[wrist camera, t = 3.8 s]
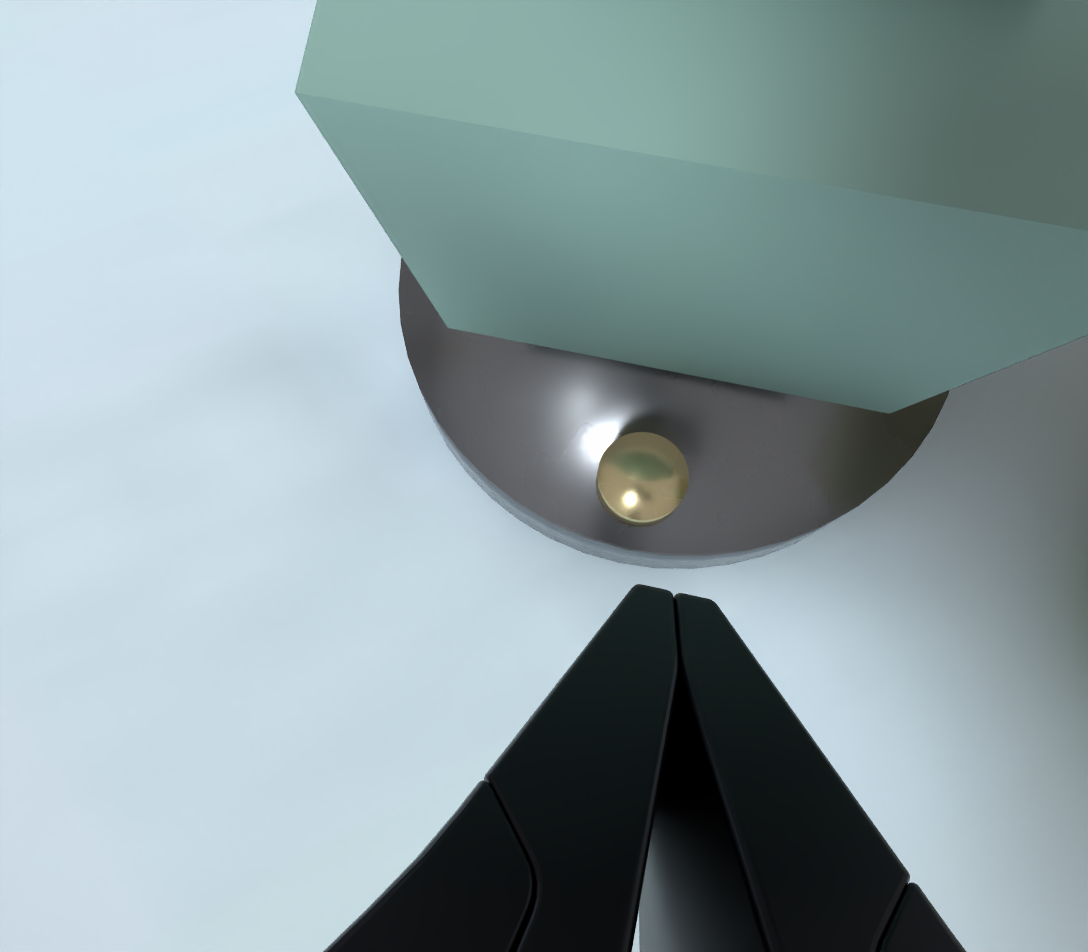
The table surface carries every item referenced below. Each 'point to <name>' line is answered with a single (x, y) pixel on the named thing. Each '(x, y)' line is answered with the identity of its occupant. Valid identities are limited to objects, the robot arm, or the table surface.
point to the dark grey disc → (648, 446)
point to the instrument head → (728, 178)
